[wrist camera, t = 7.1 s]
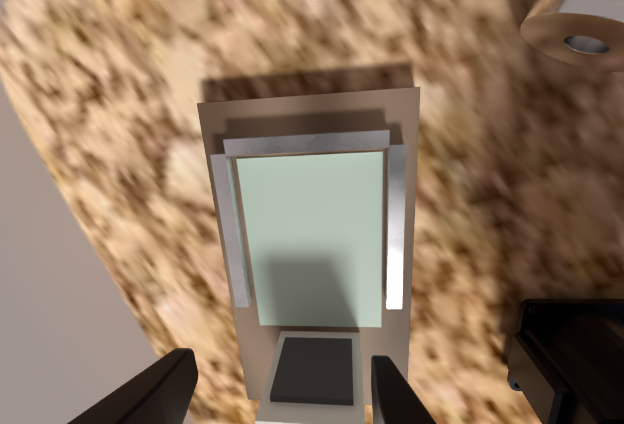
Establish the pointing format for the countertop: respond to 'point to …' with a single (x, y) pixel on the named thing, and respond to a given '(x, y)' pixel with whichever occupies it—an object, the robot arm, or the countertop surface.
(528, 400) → the robot arm
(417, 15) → the countertop surface
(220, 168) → the rail guides
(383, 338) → the rail board
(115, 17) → the countertop surface
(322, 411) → the block
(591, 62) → the metal grooved wheel
